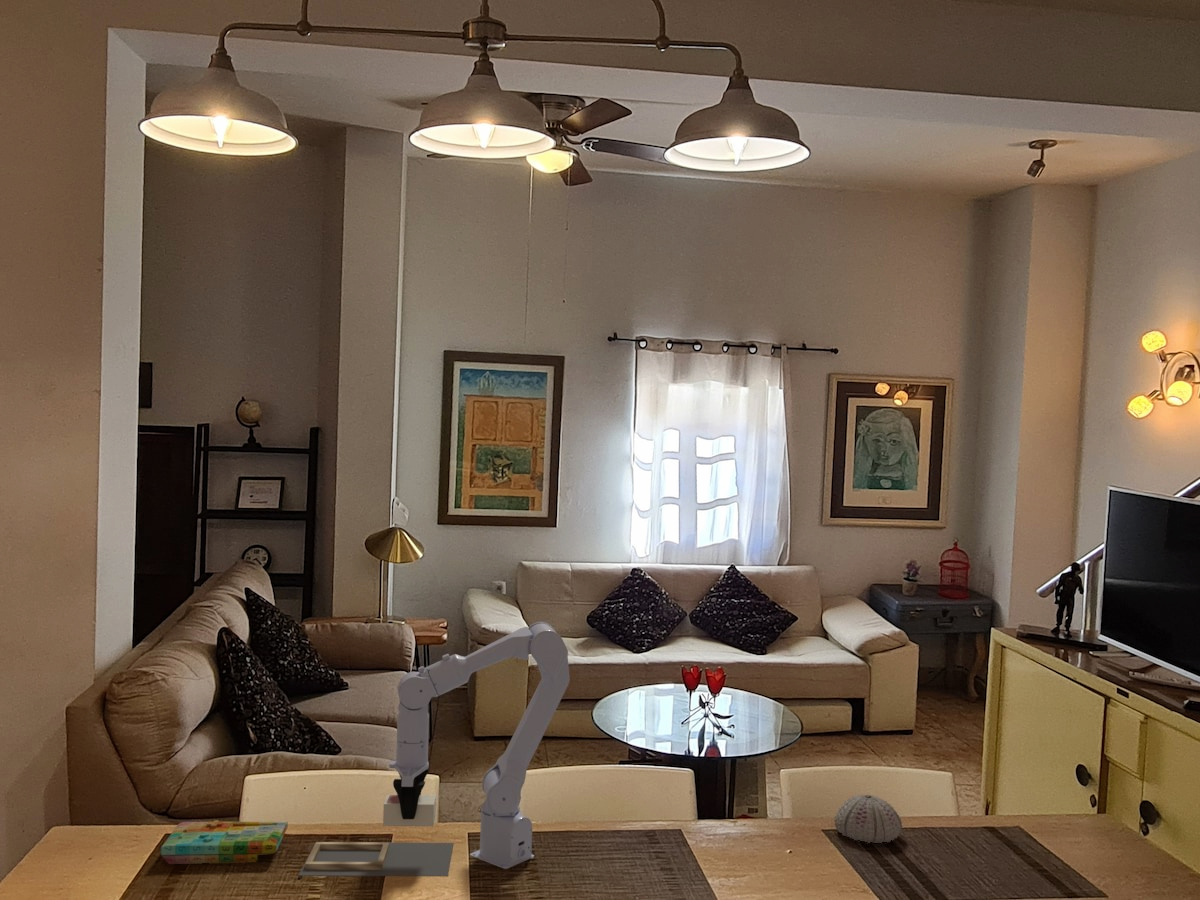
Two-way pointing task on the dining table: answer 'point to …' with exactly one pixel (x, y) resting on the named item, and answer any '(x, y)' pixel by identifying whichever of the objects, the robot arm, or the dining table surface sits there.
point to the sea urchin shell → (868, 819)
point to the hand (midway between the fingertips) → (410, 813)
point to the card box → (422, 817)
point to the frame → (377, 865)
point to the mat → (390, 860)
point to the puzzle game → (222, 841)
